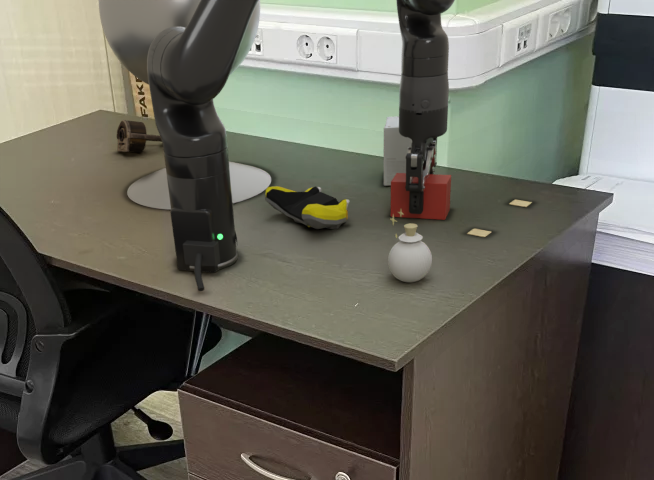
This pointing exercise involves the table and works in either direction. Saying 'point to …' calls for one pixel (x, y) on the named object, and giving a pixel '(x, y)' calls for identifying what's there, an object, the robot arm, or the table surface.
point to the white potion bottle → (409, 255)
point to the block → (433, 197)
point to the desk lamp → (132, 51)
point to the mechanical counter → (133, 136)
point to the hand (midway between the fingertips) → (420, 204)
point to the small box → (394, 150)
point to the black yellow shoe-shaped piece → (309, 206)
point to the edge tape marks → (484, 233)
